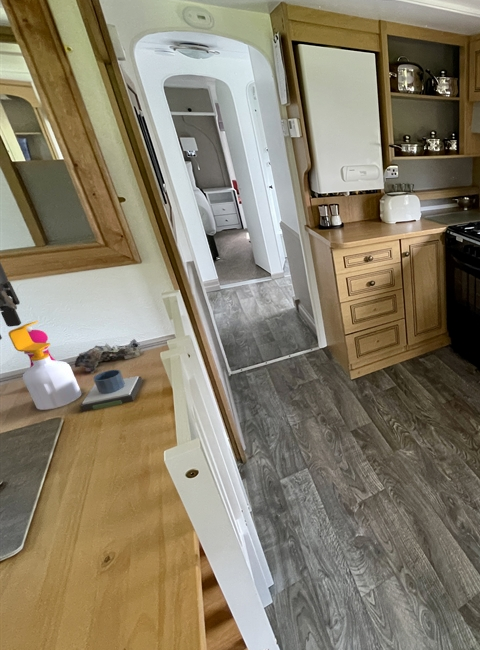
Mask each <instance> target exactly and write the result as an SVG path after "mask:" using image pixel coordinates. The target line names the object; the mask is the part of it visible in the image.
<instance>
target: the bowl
mask: <svg viewBox="0 0 480 650" xmlns="http://www.w3.org/2000/svg"><path fill="white" fill-rule="evenodd" d="M92 379H93V382H94V385H96V387H97V390H98V392H99V393H101V394H109V393H113V392H116V391H118V390H120V389H122V388H123V387H124V384H125V382H124V380H123V379H124V377H123V375H122V371H121V370H120V369H110V370H105V371H102V372H100V373H98V374H96V375H95V376H94V377H93V378H92Z"/></svg>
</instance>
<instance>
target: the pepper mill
mask: <svg viewBox="0 0 480 650" xmlns="http://www.w3.org/2000/svg"><path fill="white" fill-rule="evenodd" d="M26 328H27V331H28V333H29V336H30V338H31V340H32V341H33V342H34V343H48V340H49V337H48V335H47V333H46V332H44V331H43V330H40V329H33V327H32V326H31V325H30V326H28V327H26ZM49 349H50V345H49V346H47V347H45V348H44V350H43V353H48V354H49V356H50V359H51V360H53V361H57V359H55V358H54V357H53V356H52V354H51V353H50V350H49ZM23 353H24V355H27V356H28V358H29V361H30V366H29V368H30V367H32V366H33V365H34V364H33V362H32V360H31V357H32V356H34V354H33V353H30V352H29V351H28V352H23Z"/></svg>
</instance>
